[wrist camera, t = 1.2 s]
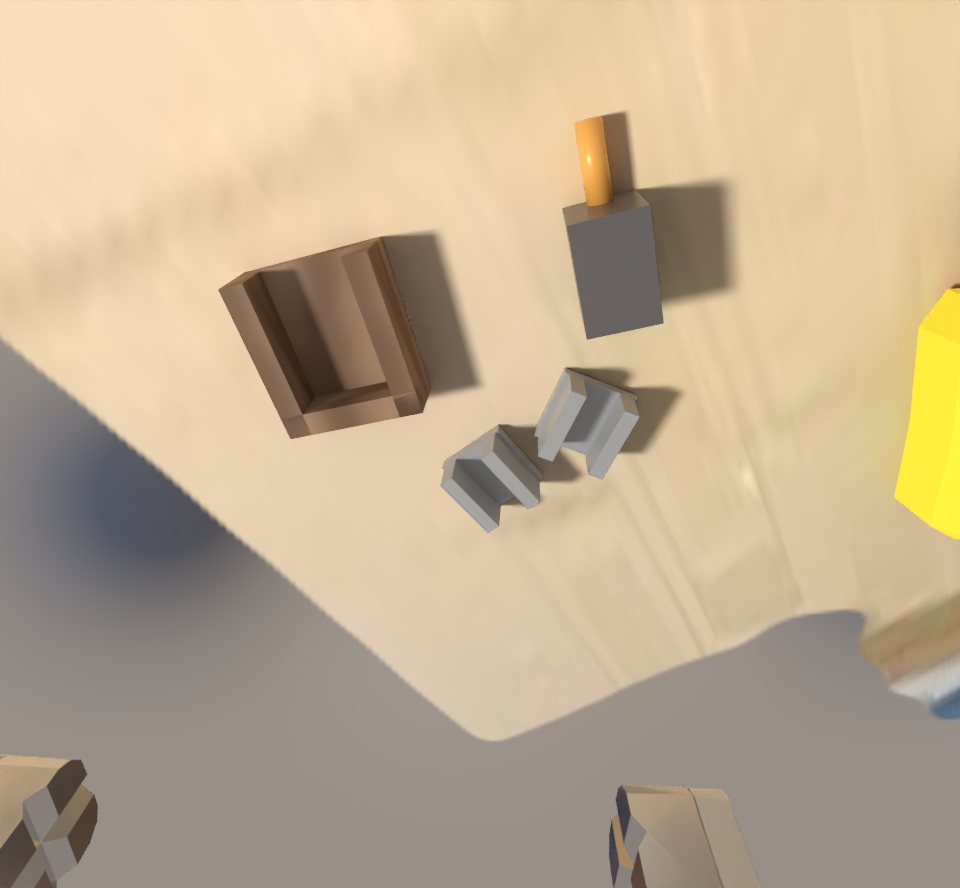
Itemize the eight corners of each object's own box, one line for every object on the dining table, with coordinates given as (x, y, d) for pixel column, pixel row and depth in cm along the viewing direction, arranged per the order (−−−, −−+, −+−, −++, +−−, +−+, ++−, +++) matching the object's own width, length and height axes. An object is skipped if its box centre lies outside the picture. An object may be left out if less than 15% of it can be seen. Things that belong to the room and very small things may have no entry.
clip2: (498, 424, 41) (495, 449, 38) (542, 473, 42) (542, 500, 40) (443, 461, 42) (437, 487, 40) (488, 506, 44) (485, 534, 42)
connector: (625, 107, 30) (640, 111, 26) (647, 294, 35) (663, 323, 31) (548, 129, 31) (550, 136, 27) (580, 309, 36) (586, 339, 32)
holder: (380, 236, 35) (366, 250, 32) (431, 387, 40) (422, 412, 37) (244, 272, 36) (218, 289, 33) (308, 413, 41) (290, 439, 38)
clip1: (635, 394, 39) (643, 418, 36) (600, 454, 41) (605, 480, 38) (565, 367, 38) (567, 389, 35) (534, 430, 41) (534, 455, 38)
